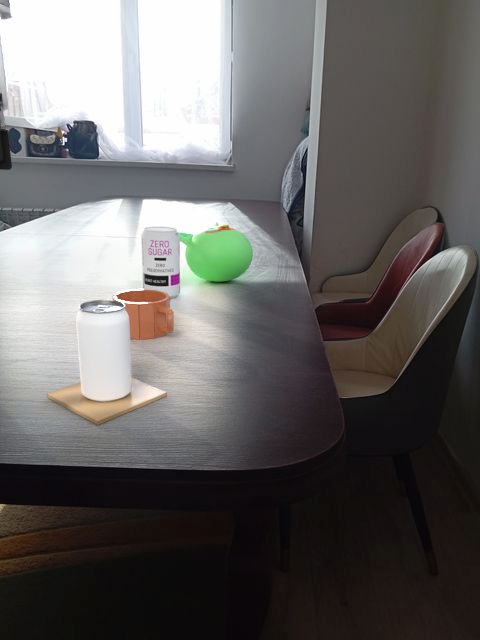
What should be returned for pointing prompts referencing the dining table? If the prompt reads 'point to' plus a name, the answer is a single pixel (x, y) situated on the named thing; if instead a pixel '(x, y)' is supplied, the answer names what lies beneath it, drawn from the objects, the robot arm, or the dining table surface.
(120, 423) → the dining table surface
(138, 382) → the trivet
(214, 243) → the green teapot
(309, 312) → the dining table surface
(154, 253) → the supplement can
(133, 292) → the mug
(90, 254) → the dining table surface
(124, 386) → the can
